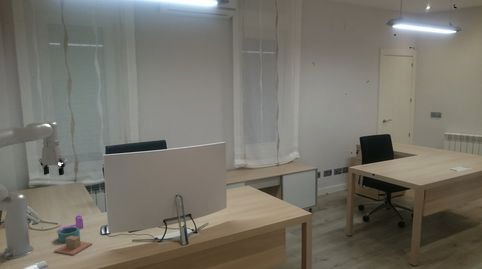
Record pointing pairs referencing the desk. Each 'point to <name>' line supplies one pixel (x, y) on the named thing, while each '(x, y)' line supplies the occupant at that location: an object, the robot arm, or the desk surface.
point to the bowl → (68, 233)
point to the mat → (71, 255)
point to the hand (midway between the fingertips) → (54, 174)
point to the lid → (73, 246)
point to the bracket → (78, 223)
